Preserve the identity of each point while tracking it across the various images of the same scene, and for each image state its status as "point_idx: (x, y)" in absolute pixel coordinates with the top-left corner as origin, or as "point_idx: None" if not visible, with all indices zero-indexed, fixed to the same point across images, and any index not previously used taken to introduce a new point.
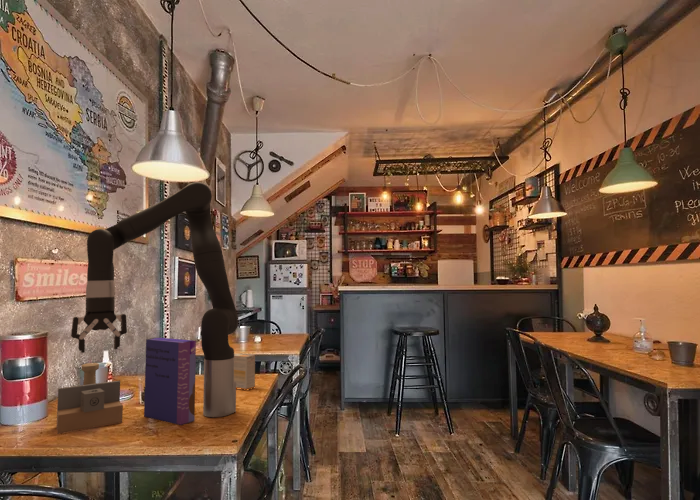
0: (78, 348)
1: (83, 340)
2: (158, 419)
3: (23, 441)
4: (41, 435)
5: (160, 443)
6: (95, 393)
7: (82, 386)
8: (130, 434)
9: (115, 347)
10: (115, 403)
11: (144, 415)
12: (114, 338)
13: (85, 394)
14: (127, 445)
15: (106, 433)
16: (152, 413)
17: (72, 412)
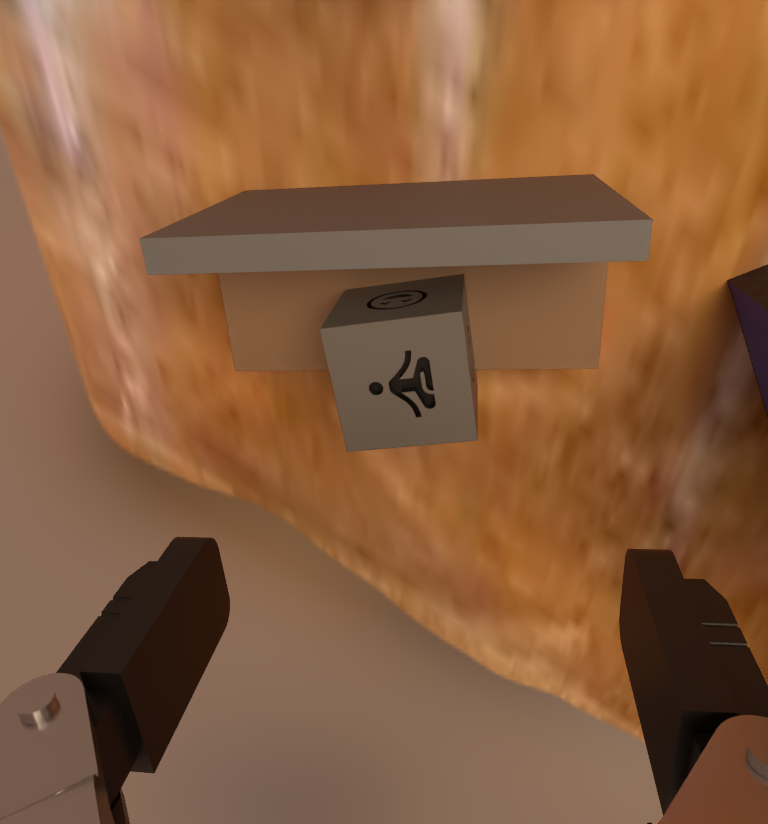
0: (126, 583)
1: (140, 764)
2: (766, 407)
3: (138, 357)
4: (196, 309)
5: None
6: (416, 441)
7: (322, 268)
8: (567, 541)
9: (629, 655)
10: (567, 287)
11: (731, 285)
12: (665, 723)
13: (351, 450)
14: (525, 648)
15: (476, 465)
16: (762, 367)
17: (304, 354)
